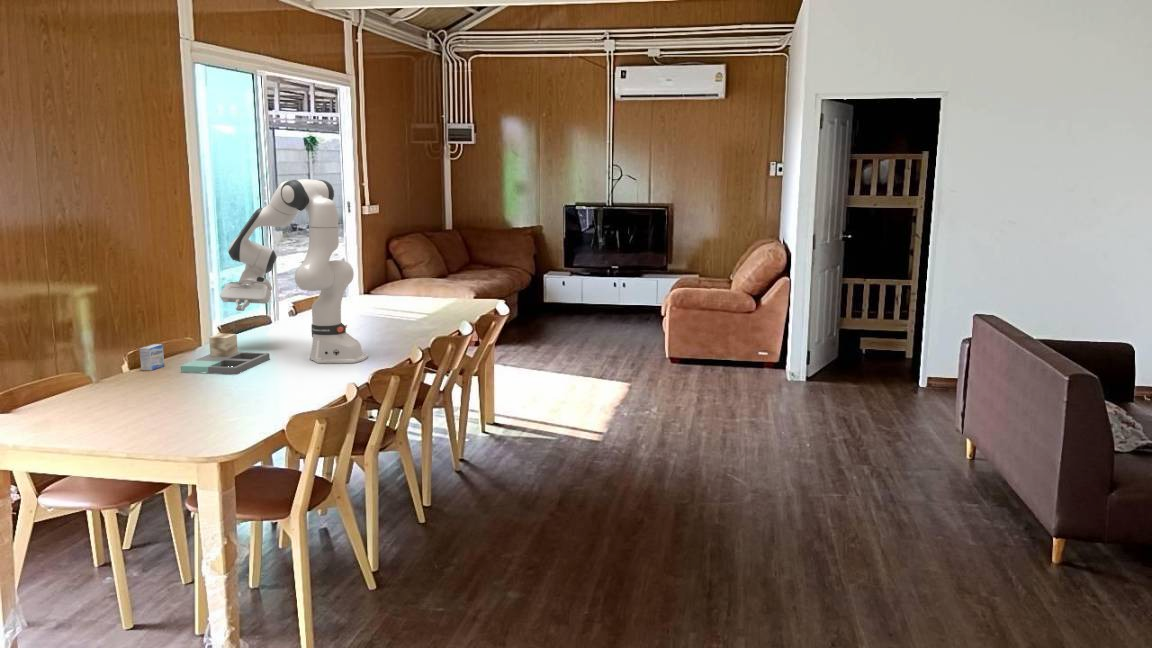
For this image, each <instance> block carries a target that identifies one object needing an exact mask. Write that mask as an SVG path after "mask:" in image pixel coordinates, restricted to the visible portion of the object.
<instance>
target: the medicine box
mask: <svg viewBox="0 0 1152 648" xmlns="http://www.w3.org/2000/svg"><path fill="white" fill-rule="evenodd" d="M164 356H165V355H164V345H163V344H161V343H160V344H159V343H153V344H150V345H147V346H143V347H140V348H139V359H140V368H141V369H140V370H141V371H151V372H152V371H155V370H158V369H161V368H163V367H165V365H166V364H165V357H164Z"/></svg>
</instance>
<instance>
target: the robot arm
mask: <svg viewBox="0 0 1152 648" xmlns="http://www.w3.org/2000/svg"><path fill="white" fill-rule="evenodd" d="M334 198H335V190H334V188H333V185H332V184H331V183H330V182H328V181H327V180H324V179H323V180H322V179H309V178H303V179H290V180H285V181H282V182H281V183H280V184H279V185H278V187H277V188H276V189H275V191H274V192H273V195H272V197H271V199H270V201H269V203H268V204H267V205H266V206H264V207H259V208H257V209H256V210H255V211H254V212H253V213H252V215H251V216H250V218H249V219H248V220H247V222H246V223H245V225H244V226H243V228H242V229H241V230H240V232H239V234H237V236H236V237H235V238H234V239H232V241H231V243H230V244H229V246H228V250H227V251H228V252H227V253H228V256H229V257H230V259H231V260H232V261H235V262H239V263H243V264H245V266H244V270H243V271H242V272H241V276H240V277H239V278H240V279H239V281H230V282H227V283H226V284H225V286H224V287H223V289H222V290H221V293H220V294H219V297H220V299H221V300H222V301H223V303H235V304H236V306H235V310H236V311H240V312H243V311H245V309H246V308H247V307H248V306H249V305H250V304H260V305H261V304H262V305H263V304H264V305H265V304H268V303H269V302H270V299H271V296H272V290H273V287H272V285H271V283H270V281H269V280H268V279H267V278H265V276H266V274H267V273H270V272H272V270H273V268H274V265H275V263H276V260H277V254H276V252H275V250H274V249H272V248H270V247H267V246H266V245H262V244H260V243H257V242H254V241H252V240H251V239H250V238H251V236H252V234H253V233H254V231H256V229H258V228H260V227H261V228H262V227H272V228H282V227H286V226H288V225H290V224H291V223H292V222H293V221H294V219H295V217H296V216H297V213H298V212H299V211H300V212H302V211H304V210H305V211H306V212H307V214H308V249H307V253H306V255H305V258H304V259H303V261H302V263H301V264H300V265H299V266H298V267H297V268H296V270H295V274H294V282H295V284H296V285H297V288H299V289H300V290H302V291H307V292H317V291H320V293H319V296H318V297H317V299H316V300H314V302H312V305H311V316H312V318H311V319H312V323H311V337H312V344H311V345H312V346H311V353H310V357H309V360H311V361H312V360H313V362H315V363H316V364H355V363H360V362H362V361H364V360H366V359H367V358H369V357H368V354H367V353H364V352H363V349H362V345H361V343H360V342H359V340H357V339H356V338H354V337H353V335H350V334H349V333H348V332H347V331H346V330H347V328H348V324H345V325H344V323H342V301H343V297H344V294H345V291H346V289H347V288H348V286H349V285H350V284H351V283H352V281H353V280H354V274H355V273H354V268H353V266H352V265H351V264H350V263H349V262H348V261H344V260H337V259H336V260H330V259H331V256H332V255H333V253H334V252H335V251H336V250H337V249H338V247H339V245H340V244H339V240H340V239H339V216H338V211H337V210H338V209H337V206H336V204H335V201H334Z"/></svg>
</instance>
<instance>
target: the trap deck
mask: <svg viewBox="0 0 1152 648" xmlns="http://www.w3.org/2000/svg"><path fill="white" fill-rule="evenodd" d="M269 360H271V357H270V353H268V352H249V351H247V352H245V351H238V353H235V354H233V355H230V356H228V357H220V356H210V353H209V354H207V355H204V356H202V357H200V358H199V357H198V358H197V359H194V360H192V361H189V362H186V363H183V364H181V365H180V373H187V372H206V373H205V374H209V373H221V374H220V375H231V374H237V375H238V373H239V374H240V372H241V373H243V372H245V371H248V370H250V369H252V368H254V367H256V366H258V365H260V364H262V363H265V362H267V361H269ZM228 366H229V367H228ZM231 366H233V367H231ZM247 369H248V370H247Z"/></svg>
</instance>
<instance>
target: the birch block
mask: <svg viewBox="0 0 1152 648" xmlns="http://www.w3.org/2000/svg"><path fill="white" fill-rule="evenodd" d="M208 341H209V354H210V356H220V357H228V356H230V355H233V354H235V353H238V352H239V351H238V336H237V333H222V332H221V333H220V332H219V333H217V334H214V335H211V336H209V337H208Z"/></svg>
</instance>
